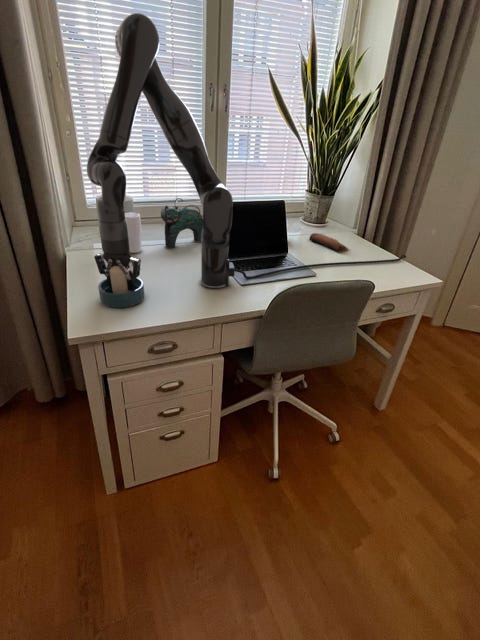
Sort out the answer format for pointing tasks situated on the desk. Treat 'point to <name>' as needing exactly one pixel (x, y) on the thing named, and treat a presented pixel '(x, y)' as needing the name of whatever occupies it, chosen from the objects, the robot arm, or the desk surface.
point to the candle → (118, 280)
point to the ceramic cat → (181, 223)
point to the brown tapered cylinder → (328, 242)
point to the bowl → (121, 295)
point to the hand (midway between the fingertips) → (121, 287)
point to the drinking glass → (134, 231)
